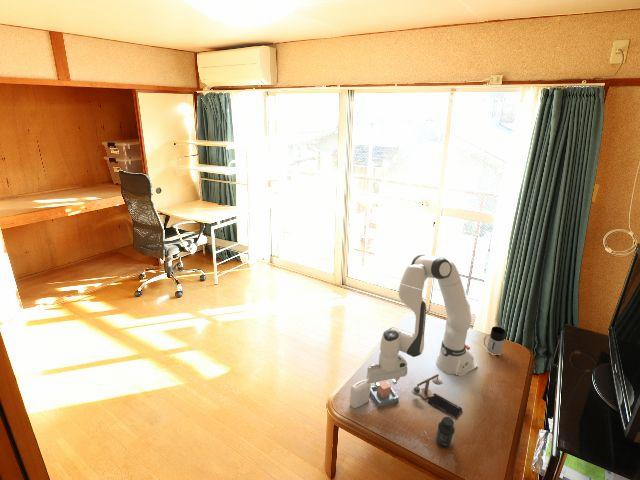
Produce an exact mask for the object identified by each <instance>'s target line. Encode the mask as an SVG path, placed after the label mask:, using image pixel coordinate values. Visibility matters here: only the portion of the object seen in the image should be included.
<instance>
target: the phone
mask: <svg viewBox="0 0 640 480" xmlns="http://www.w3.org/2000/svg"><path fill="white" fill-rule="evenodd" d="M433 394H434V397H430V398H429V399H427V401H426V402H427V404H429V405H430V406H432V407H434V408H435V409H437V410H439V411H440V412H442V413H444V414H446V415H448V417H450V418H451V419H452V418H453V420H454V419H456V420H457V419H458V418H459V416H461V414H462V413H463V408H462V407H460V406H458V405H457V404H455V403H454V402H451V401H450V400H448V399H446V398H444V397H443V396H441V395H440V394H437V393H433Z"/></svg>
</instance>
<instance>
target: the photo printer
mask: <svg viewBox="0 0 640 480" xmlns="http://www.w3.org/2000/svg"><path fill="white" fill-rule="evenodd" d="M371 386H372V383H369V382H368V380H367V379H362V380H360V381H358V382H356V383H354V384H353V385H352V386H351V387H350V397H349V405H350V407H351V408H352V409H356V408H358V407H360V406H363V405H364V404H366V403H368V402H369V401H370V397H371V395H370V387H371Z"/></svg>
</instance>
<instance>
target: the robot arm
mask: <svg viewBox="0 0 640 480" xmlns="http://www.w3.org/2000/svg"><path fill="white" fill-rule="evenodd" d="M429 278H430V279H437V283H438V285H439V289H440V291H441V296H442V299H443V303H444V308H445V313H446V323H445V329H444V335H443V340H442V341H441V345H440V346H441V347H440V350H439V352H438V353H437V358H436V361H435V362H436V365H437V367H438V368H439V369H440V370H441V371H442V372H445V373H447V374H452V375H455V374H456V376H457V375H458V377H462V376H464V375H466V374H468V373H470V372H471V370H472V371H474V370H475V369H474V368H476V367H477V368H478V364H477V362H476V361H475V360H474V358H475V357H474V355H473V354H472V353H471V352H470V350H471V347H470V346H469V345H468V344H467V345H466V341H467V340H466V339H467V335H468V330H469V329H470V327H471V324H472V314H471V312H472V311H471V305H470V303H469V301H468V300H467V297H466V292H465V289H464V286H463V282H462V279H461V276H460V274H459V271H458V269H457V267H456V264H455V263H454V262H453V261H451V260H449V259H446V258H444V257H441V256H436V255H426V254H420V255H419V254H418V255H416V256H415V257H414V258H413V259H412V261H411V264H410V265H408V266H407V267H406V269H405V270H404V272H403V275H402V277H401V280H400V282H399V283H400V284H399V288H398V297H399V300H400V301H401V302H402V304H403V305H405V306H406V307H407V308H409V309H410V310H411V311H413V313H414V315H415V325H414V333H412V332H409V331H406V330H403V329H400V328H398V327H390V328H388V329H386V330H385V331H383V333H382V336H381V340H380V346H379V351H380V352H379V356H378V363H375V364H370V365H369V366H368V367H367V372H366V376H365V378H366V380H368V382H369V383H370V384H373V383H374V385H375V387H376V388H379V384H378V383H380V382H382V381H390V380H392V384H393V385H397V383H398V381H399V380H400V378H403V377H406V376H407V374H408V362H407V360H406V359H405V357H404V356H403V355H401V354H400V352H402V353H405V354H406V355H408V356H411V357H413V358H415V357H419V356H420V355H422V353H423V352H424V347H425V328H426V320H427V319H426V317H427V304H426V302H425V301H424V300H423V290H424V286H425V281H426V280H428V279H429ZM474 363H475V364H474ZM477 368H476V369H477ZM473 369H474V370H473ZM469 371H470V372H469ZM467 372H468V373H467Z"/></svg>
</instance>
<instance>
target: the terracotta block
mask: <svg viewBox="0 0 640 480" xmlns="http://www.w3.org/2000/svg"><path fill="white" fill-rule="evenodd" d="M387 382H388V381H387V380H384V381H379V382H378V384H379V388H377V393H378V395H379V396H380V397H381V398H382V399H383V398H386V397H388V396H390V389H391V387H392V386H391V385H390V383H389V382H388V383H389V384H388V383H387Z"/></svg>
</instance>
